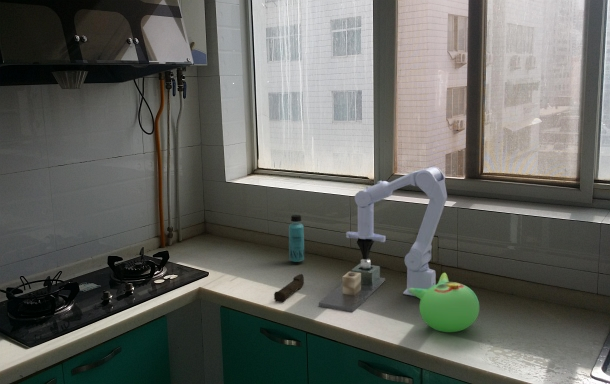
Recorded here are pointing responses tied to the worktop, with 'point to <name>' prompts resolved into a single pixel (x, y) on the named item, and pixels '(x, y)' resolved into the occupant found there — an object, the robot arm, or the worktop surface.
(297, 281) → the hand tool
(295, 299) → the worktop surface
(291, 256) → the beverage bottle
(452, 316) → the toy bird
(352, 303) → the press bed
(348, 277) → the block
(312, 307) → the worktop surface
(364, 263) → the press pin
